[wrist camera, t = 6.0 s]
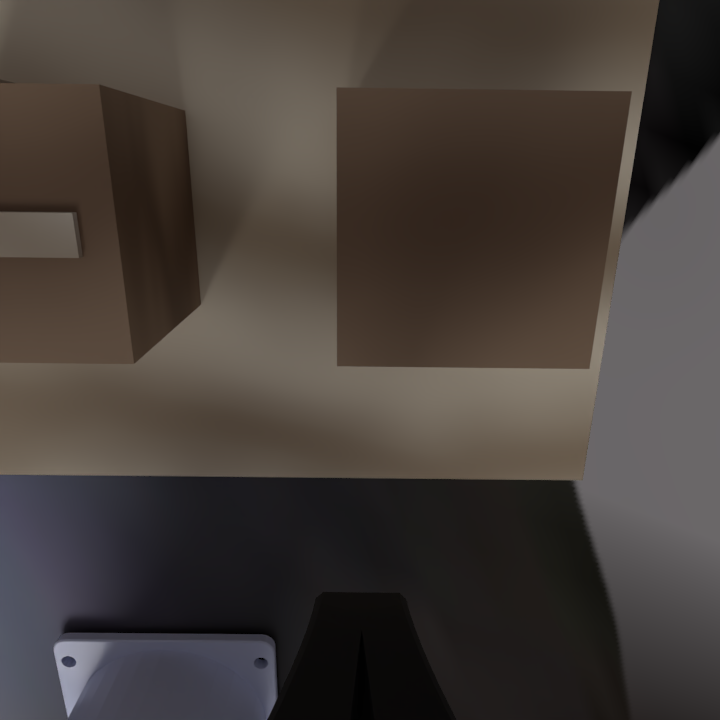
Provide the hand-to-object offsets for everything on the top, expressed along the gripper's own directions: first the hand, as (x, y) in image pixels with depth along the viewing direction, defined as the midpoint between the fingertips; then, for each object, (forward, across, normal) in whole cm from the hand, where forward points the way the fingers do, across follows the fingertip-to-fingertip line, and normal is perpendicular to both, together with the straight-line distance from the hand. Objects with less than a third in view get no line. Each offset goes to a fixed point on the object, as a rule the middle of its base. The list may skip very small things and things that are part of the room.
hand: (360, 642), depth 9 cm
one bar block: (+8, +7, -6) cm, 12 cm away
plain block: (+8, -2, -6) cm, 11 cm away
